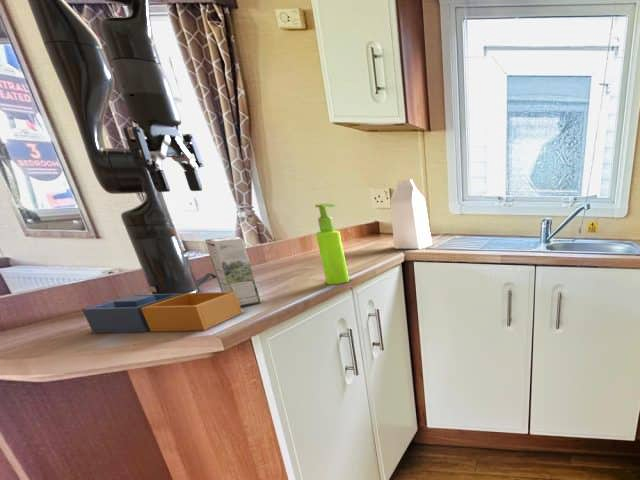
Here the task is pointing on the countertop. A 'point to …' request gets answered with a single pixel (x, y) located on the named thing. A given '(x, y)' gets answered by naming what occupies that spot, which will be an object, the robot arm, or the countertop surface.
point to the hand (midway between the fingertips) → (180, 191)
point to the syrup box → (233, 268)
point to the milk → (409, 217)
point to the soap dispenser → (331, 249)
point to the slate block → (134, 301)
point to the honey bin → (192, 311)
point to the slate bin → (121, 316)
